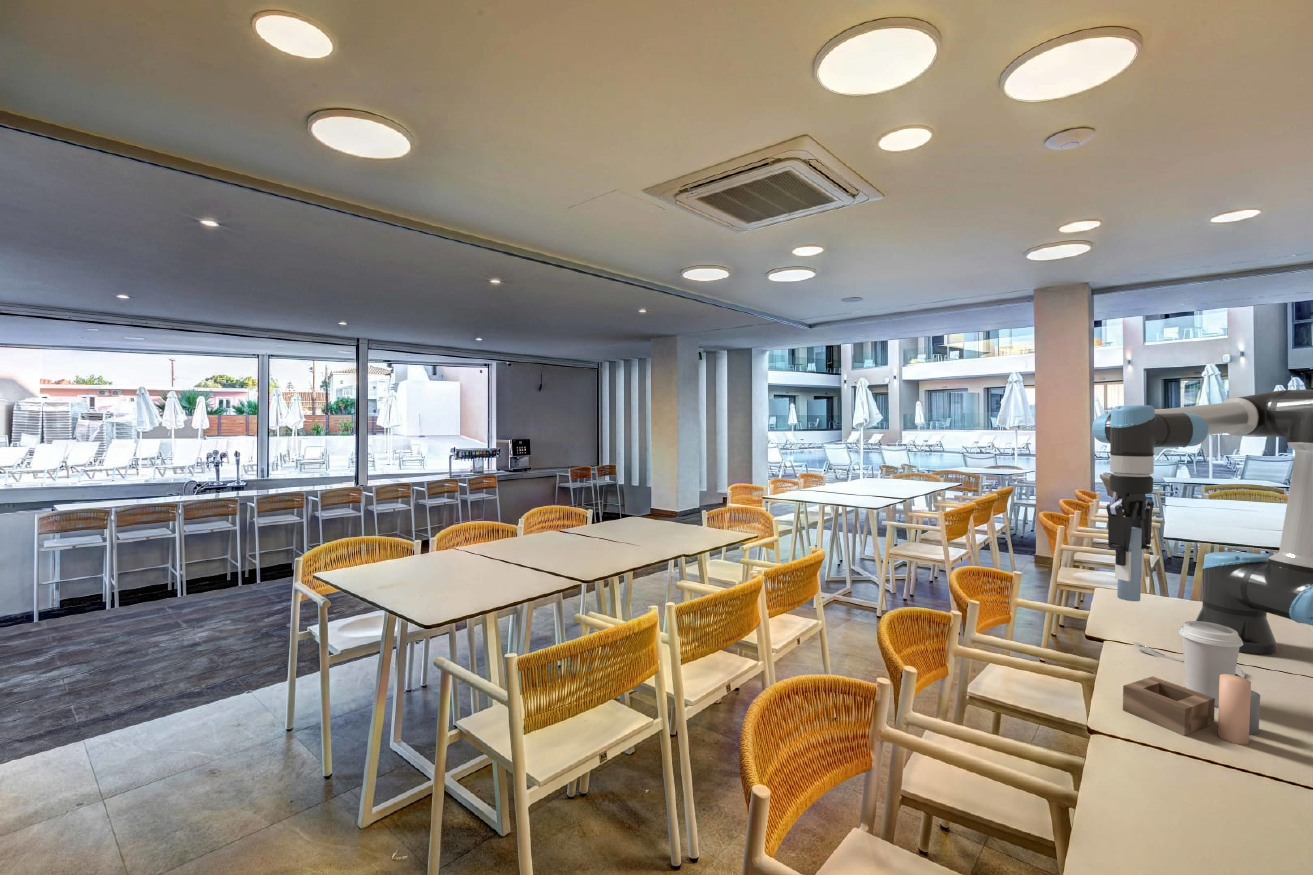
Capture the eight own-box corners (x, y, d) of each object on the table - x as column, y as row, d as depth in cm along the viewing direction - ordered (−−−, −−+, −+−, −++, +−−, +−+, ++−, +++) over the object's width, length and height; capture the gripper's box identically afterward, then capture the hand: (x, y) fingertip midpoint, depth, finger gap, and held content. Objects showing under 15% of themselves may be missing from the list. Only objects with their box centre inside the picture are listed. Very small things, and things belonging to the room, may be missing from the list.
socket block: (1152, 699, 119) (1152, 676, 119) (1214, 723, 110) (1214, 698, 110) (1122, 710, 115) (1123, 685, 115) (1184, 735, 106) (1185, 709, 106)
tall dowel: (1124, 594, 132) (1125, 525, 132) (1144, 599, 129) (1145, 528, 128) (1113, 597, 131) (1114, 527, 130) (1133, 602, 127) (1134, 530, 126)
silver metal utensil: (1131, 636, 143) (1136, 632, 146) (1129, 650, 143) (1135, 645, 146) (1245, 669, 127) (1249, 663, 130) (1243, 685, 127) (1247, 679, 130)
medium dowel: (1224, 730, 108) (1226, 672, 107) (1253, 741, 104) (1255, 681, 103) (1213, 735, 106) (1214, 676, 106) (1241, 746, 102) (1243, 685, 102)
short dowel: (1234, 720, 111) (1236, 685, 111) (1263, 731, 107) (1264, 694, 107) (1223, 725, 109) (1225, 689, 109) (1252, 736, 106) (1253, 698, 105)
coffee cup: (1254, 713, 114) (1257, 638, 113) (1197, 708, 115) (1200, 635, 115) (1217, 690, 123) (1220, 620, 122) (1166, 686, 125) (1168, 618, 124)
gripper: (1134, 471, 135) (1132, 569, 136) (1088, 475, 129) (1087, 578, 130) (1173, 473, 128) (1171, 577, 129) (1127, 478, 122) (1125, 587, 123)
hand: (1129, 577), depth 130 cm, fingers closed on tall dowel, 4 cm apart
